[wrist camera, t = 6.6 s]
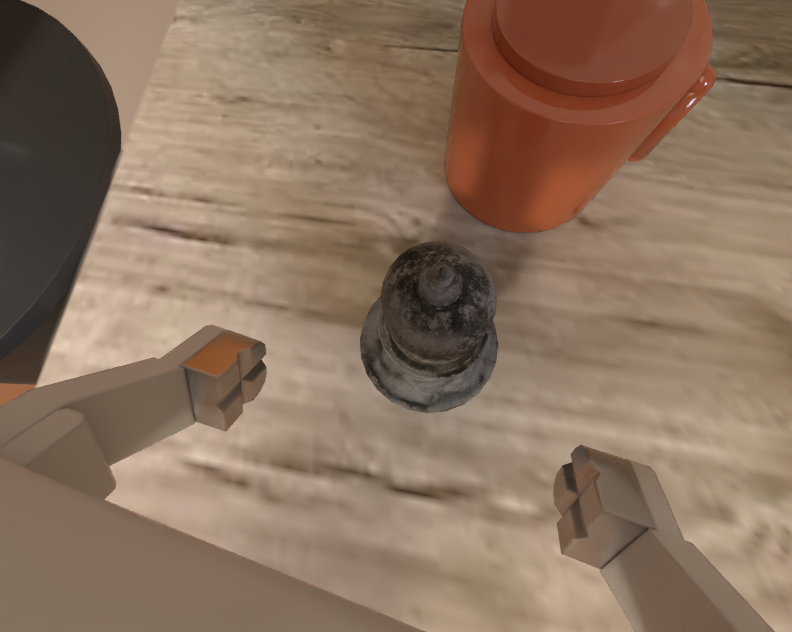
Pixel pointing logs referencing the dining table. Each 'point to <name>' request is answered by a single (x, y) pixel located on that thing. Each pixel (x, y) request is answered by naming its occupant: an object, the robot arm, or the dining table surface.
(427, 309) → the grey chess piece
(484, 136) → the coffee cup
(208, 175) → the dining table surface
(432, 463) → the dining table surface
